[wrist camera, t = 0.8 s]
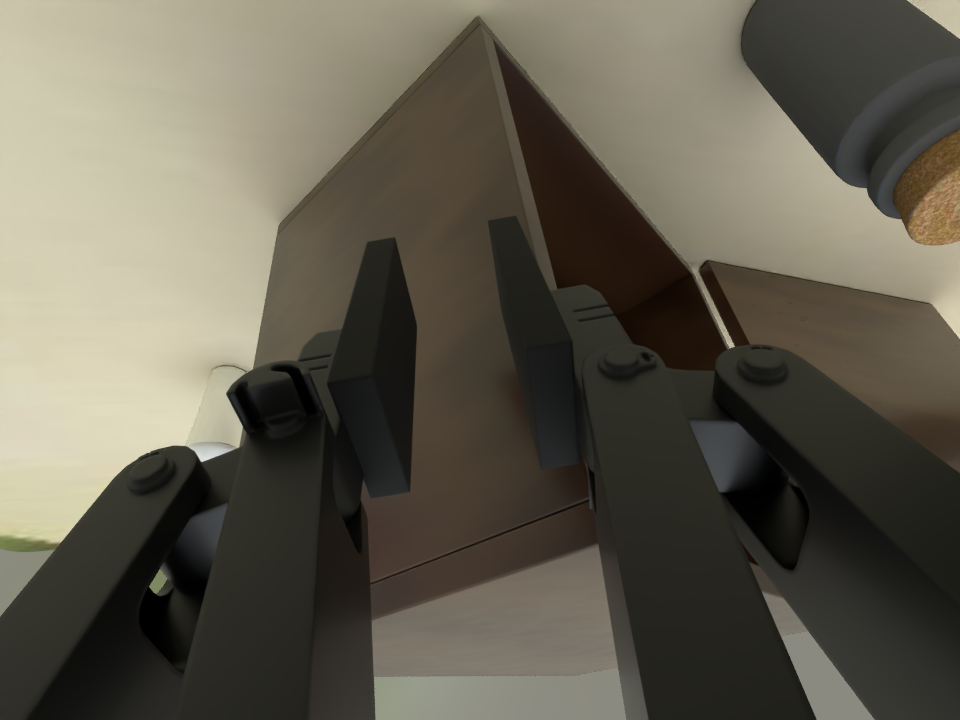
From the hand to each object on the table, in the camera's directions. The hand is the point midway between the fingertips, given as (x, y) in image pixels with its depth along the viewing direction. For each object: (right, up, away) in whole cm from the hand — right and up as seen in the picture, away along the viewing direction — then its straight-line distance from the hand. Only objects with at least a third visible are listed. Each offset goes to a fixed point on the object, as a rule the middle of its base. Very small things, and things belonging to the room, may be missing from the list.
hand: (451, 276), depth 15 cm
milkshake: (-22, -4, +33) cm, 40 cm away
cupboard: (+3, +6, +24) cm, 25 cm away
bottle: (+18, +16, +13) cm, 27 cm away
